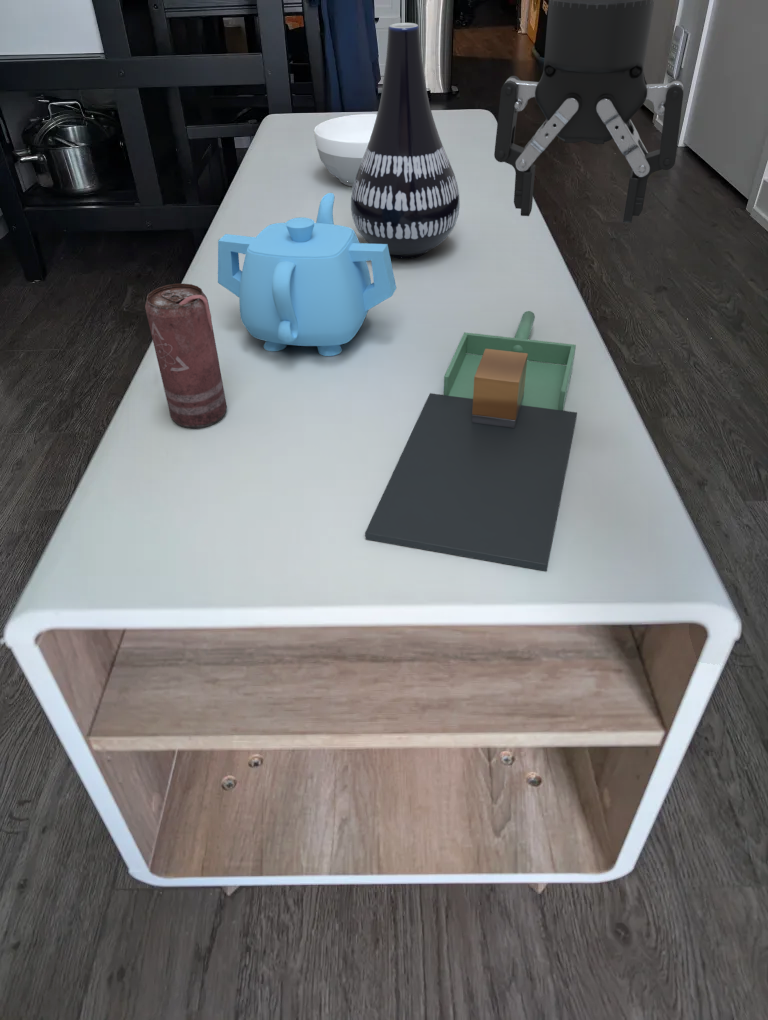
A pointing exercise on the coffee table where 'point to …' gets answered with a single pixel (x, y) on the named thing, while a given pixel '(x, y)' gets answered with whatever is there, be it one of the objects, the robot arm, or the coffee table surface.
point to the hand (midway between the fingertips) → (576, 216)
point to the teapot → (305, 281)
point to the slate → (478, 484)
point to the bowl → (344, 144)
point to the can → (186, 354)
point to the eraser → (499, 388)
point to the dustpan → (542, 379)
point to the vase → (405, 161)
